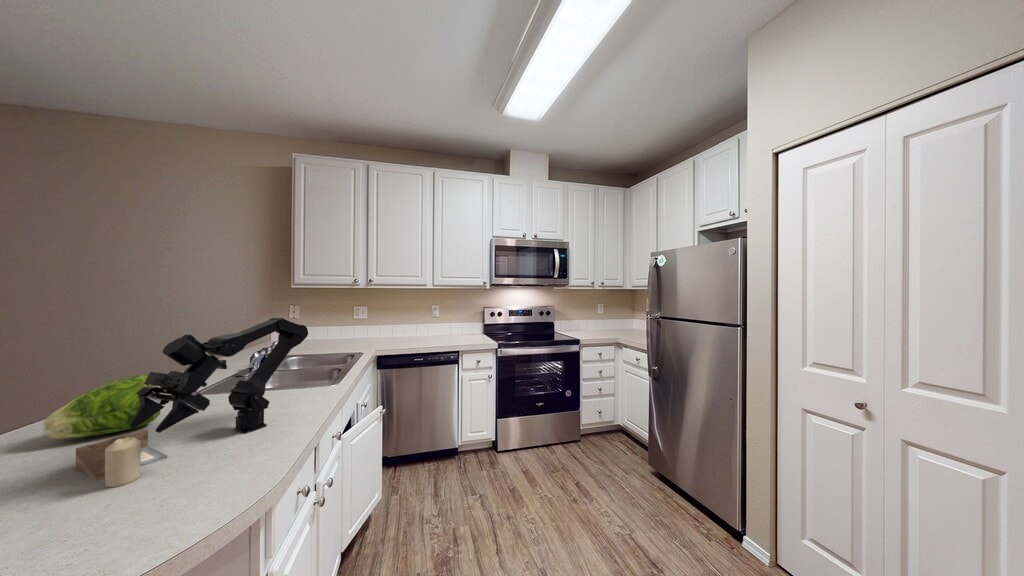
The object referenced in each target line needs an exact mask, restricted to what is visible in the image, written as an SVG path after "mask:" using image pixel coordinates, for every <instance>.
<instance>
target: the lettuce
mask: <svg viewBox="0 0 1024 576" xmlns="http://www.w3.org/2000/svg"><path fill="white" fill-rule="evenodd" d="M147 377H148V375H143V374H138V375H135V376H129V377H124V378H121V379H117V380H113V381H111V382H108V383H106V384H103V385H101V386H99V387H97V388H95V389H92V390H89V391H87V392H85V393H83V394H80V395H79V396H77V397H75V398H73V399H71V400H70V401H69V402H68V403H66V404H65V405H63V406H62V407H60V408H59V409H56V410H55V411H53V412H52V413H51V414H49V415H48V416H47V417H46V418H45V419H44V420H43V422H42V423H43V424H42V425H43V429H42V431H43V432H44V434H45V435H46V436H47V438H50V439H55V440H65V439H73V438H74V439H77V438H78V439H79V438H80V439H83V438H93V437H99V436H100V435H101V436H106V435H110V433H111V434H115V432H116V433H121V432H125V430H126V431H129V430H134V429H136V428H137V429H138V428H140V427H143V426H145V425H148V424H150V423H152V422H154V421H155V420H156V419H157V418H158V417H159V416H160V415H161V411H162V409H161V410H160V411H158V412H157V413H156V414H154V415H153V416H151V417H150V418H148V419H147V420H146V421H144V422H143V423H141V424H140V425H138V426H137V427H135V428H131V427H129V426H130V424H131V422H132V420H133V418H134V417H135V415H136V413H137V411H138V409H139V407H140V399H139V398H138V394H137V392H138V391H139V390H141V389H142V388H143V387H146V386H153V385H151V384H149V385H145V384H144V382H145V380H146V379H147ZM155 387H158V386H155ZM120 431H121V432H120ZM105 434H106V435H105Z"/></svg>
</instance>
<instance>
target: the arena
mask: <svg viewBox="0 0 1024 576" xmlns="http://www.w3.org/2000/svg"><path fill="white" fill-rule="evenodd" d="M126 437H134V438H136V439H138V440H139V441H141V452H140V466H141V467H143V466H147V465H149V464H152V463H156V462H158V461H161V460H164V459H166V458H168V454H165V453H163V452H161V451H159V450H157V449H155V448H153V447H151V446H149V430H148V429H146V428H145V429H142V430H139V431H135V432H131V433H127V434H123V435H121V436H120V435H119V436H116V437H112V438H108V439H105V440H101V441H97V442H95V443H90V444H87V445H83V446H80V447H79V446H78V447H76V448H75V469H77V471H78V470H79V471H80V472H81V473H83V474H84V475H85V476H86V477H90V478H89V479H90V480H92V481H94V482H95V483H96V482H99V481H103V480H105V449H106V448H107V447H108V446H109V445H111V444H112V443H114V442H115V441H116V440H117V439H124V438H126Z"/></svg>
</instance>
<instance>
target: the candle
mask: <svg viewBox="0 0 1024 576" xmlns="http://www.w3.org/2000/svg"><path fill="white" fill-rule="evenodd" d="M140 452H141V441H139V440H138V439H136V438H134V437H126V438H124V439H117V440H116V441H115V442H114V443H112V444H111V445H109V446H108V447H107V448H106V449H105V479H104V485H105V488H115V487H120V486H121V487H122V486H124V485H126V484H130V483H132V482H135V481H136V480H138V479H139V478H140V476H141V467H140Z"/></svg>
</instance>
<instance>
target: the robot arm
mask: <svg viewBox="0 0 1024 576" xmlns="http://www.w3.org/2000/svg"><path fill="white" fill-rule="evenodd" d="M273 333H277V334H278V337H277V339H278V340H277V343H276V344H275V346H274V347H273V348H272V349H271V351H270V352H269V353H268V354H267V356H266V357H265V359H264V360H262V362H261V364H259V366H258V368H256V370H255V371H254V372H253V374H252V375H251V377H249V378H248V379H246V380H245V379H243V380H242V379H240V380H238V381H237V383H236V384H235V386H234V387H233V388H232V389H230V391H229V392H230V394H229V396H228V397H227V398H228V403H229V405H230V406H232V409H233V411H237V414H236V416H235V427H234V430H235V431H238V432H241V433H243V434H247V433H250V432H252V431H256V430H258V429H261V428H264V427H265V428H266V427H267V423H265V410H266V409H268V408H269V406H270V405H269V404H270V401H269V400H268V399H266V398H265V397H264V396H265V393H266V385H267V383H268V382H269V380H270V379H271V378H272V376H273V375H274V373H275V372H276V371H277V370H278V368H279V366H280V365H281V364H282V362H284V360H285V358H286V357H287V356H288V355H289V353H290V352H291V351H292V349H294V348H295V347H297V346H299V345H300V344H302V343H303V341H305V339H307V337H308V335H309V330H308V327H307V326H306V325H304V324H298V323H296V322H293V321H290V320H287V319H285V318H283V317H271V318H270V319H268V320H265V321H262V322H260V323H258V324H255V325H253V326H250V327H248V328H245V329H243V330H241V331H238V332H234V333H233V332H232V333H229V334H228V333H227V334H221V335H219V336H214V337H211V338H210V339H208V340H207V341H205V342H200V341H199V340H197V339H196V338H195V337H194V335H192V334H186V333H185V334H184V335H183V336H182V337H179V338H176V339H174V340H172V341H171V342H168V343H167V344H166V345H165V346H164V348H162V349H163V350H162V354H163V355H165V356H167V358H170V360H173V361H174V362H175V363H177V364H178V365H180V366H182V367H183V366H184V367H185V366H187V368H185V370H184V371H182V372H181V371H175V370H171V371H169V372H168V373H162V372H154V371H149V373H148V375H147V379H146V380H145V382H144V384H145V385H149V384H151V385H153V386H146V387H143V388H142V389H141V390H139V391H138V392H137V394H138V398H139V399H140V407H139V409H138V411H137V413H136V415H135V417H134V418H133V420H132V422H131V424H130V426H129V427H131V428H134V429H136V428H135V427H137V426H138V425H140V424H141V423H143V422H144V421H146V420H147V419H148V418H150V417H151V416H153V415H154V414H156V413H157V412H158V411H160V410H161V411H162V409H164V408H165V405H167V404H169V403H170V402H172V407H171V410H170V411H169V412H168V413H167V414H166V416H165V417H164V418H163V420H162V421H161V422H160V423H159V424H158V426H157V428H156V429H155V430H154V431H155V433H159V434H160V433H162V432H164V431H166V430H168V428H171V427H172V426H174V425H176V424H178V423H180V422H181V421H184V420H185V419H187V418H190V417H191V416H193V415H195V414H198V413H200V411H203V412H205V411H206V409H207V408H208V407H209V406H210V405H211V403H210V401H211V400H210V398H207V397H206V396H204V395H203V394H201V393H199V392H198V391H199V389H200V388H202V387H203V388H205V387H207V385H208V383H207V382H206V381H207V380H208V379H209V378H210V377H211V376H212V375H213V374H214V373H215V372H216V371H217V370H227V369H228V365H227V360H226V359H219V358H218V357H225V358H231V357H234V356H235V355H236V354H238V353H240V352H241V351H242V350H244V349H245V347H246V346H247V345H249V344H250V343H253V342H256V341H257V340H259V339H262V338H263V337H266V336H269V335H270V334H273ZM155 386H157V387H155ZM137 428H138V427H137Z"/></svg>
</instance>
